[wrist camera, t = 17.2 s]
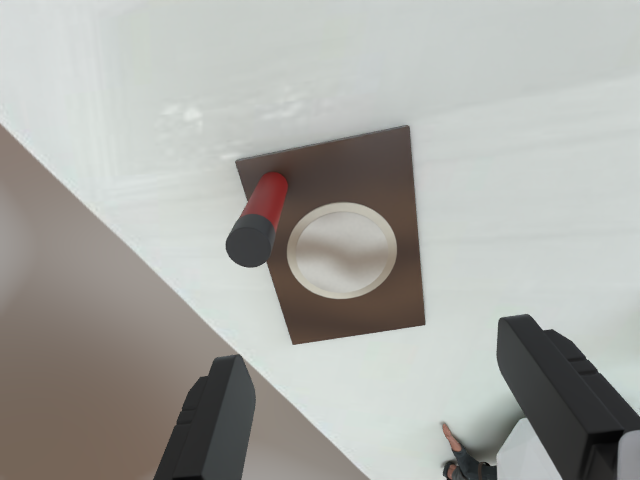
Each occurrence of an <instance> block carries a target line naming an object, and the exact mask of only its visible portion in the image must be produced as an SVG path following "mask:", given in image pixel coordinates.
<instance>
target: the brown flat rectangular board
mask: <svg viewBox="0 0 640 480" xmlns="http://www.w3.org/2000/svg"><path fill="white" fill-rule="evenodd" d="M235 163H236V166H237V169H238V172H239V175H240V179H241V182H242V185H243V188H244V191H245V194H246V198H247V201H249V199H250V197H251V195H252V193H253V192H254V190H255V188H256V186H257V184H258V182H259V181H260V179H261V177H262V176H263V175H264V174H266V173H268V172H277V173H279V174H281V175H282V176H283V177H284V178H285V179H286V181H287V184H288V190H287V193H286V197H285V201H284V204H283V208H282V212H281V215H280V219H279V222H278V226H277V230H276V233H275V240H274V244H273V248H272V251H271V255H270V257H269V259H268V260H267V264H268V268H269V271H270V274H271V277H272V280H273V283H274V287H275V290H276V293H277V296H278V299H279V302H280V306H281V309H282V312H283V315H284V318H285V322H286V325H287V328H288V331H289V334H290V337H291V341H292V344H293V345H296V344H302V343H309V342H316V341H322V340H329V339H336V338H342V337H349V336H356V335H362V334H369V333H376V332H382V331H389V330H396V329H402V328H409V327H415V326H422V325H425V314H424V301H423V289H422V277H421V264H420V252H419V240H418V227H417V215H416V203H415V190H414V178H413V166H412V153H411V141H410V129H409V126H408V125H405V126H400V127H396V128H391V129H386V130H381V131H376V132H371V133H366V134H361V135H357V136H352V137H347V138H342V139H337V140H332V141H327V142H322V143H318V144H313V145H308V146H303V147H298V148H293V149H288V150H283V151H278V152H274V153H269V154H264V155H259V156H254V157H249V158H244V159H239V160H237V161H236V162H235Z"/></svg>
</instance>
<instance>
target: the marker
mask: <svg viewBox="0 0 640 480" xmlns="http://www.w3.org/2000/svg"><path fill="white" fill-rule="evenodd" d="M287 190H288V184H287V181H286V179H285V178H284V177H283V176H282V175H281V174H279V173H277V172H268V173H266V174H264V175H263V176H262V177H261V179H260V181H259V182H258V184H257V186H256V188H255V190H254V192H253V193H252V195H251V197H250V199H249V201H248V203H247V205H246V206H245V208H244V210H243V212H242V214H241V216H240V217H239V219H238V220H237V222H236V223H235V225H234V227H233V228H232V230H231V232H230V234H229V236H228V238H227V240H226V250H227V253H228V255H229V257H230V258H231V259H232V260H233V261H234V262H235V263H237V264H238V265H241V266H243V267H257V266H260V265H262V264H264V263H265V262H266V261H267V260H268V259H269V257H270V255H271V251H272V248H273V244H274V240H275V233H276V230H277V226H278V222H279V219H280V215H281V212H282V208H283V204H284V201H285V197H286V193H287Z"/></svg>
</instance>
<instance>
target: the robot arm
mask: <svg viewBox="0 0 640 480" xmlns="http://www.w3.org/2000/svg"><path fill="white" fill-rule="evenodd" d="M497 362H498V366H499V369H500V371H501V374H502V376H503V378H504V379H505V381H506V383H507V384H508V386H509V388H510V390H511V391H512V393H513V395H514V397H515V398H516V400H517V402H518V403H519V405H520V407H521V409H522V410H523V412H524V414H525V416H526V417H527V419H528V421H529V422H530V424H531V426H532V428H533V429H534V431H535V433H536V435H537V436H538V438H539V440H540V441H541V443H542V445H543V447H544V448H545V450H546V452H547V454H548V455H549V457H550V459H551V460H552V462H553V464H554V466H555V467H556V469H557V471H558V473H559V474H560V476H561V478H562V479H563V480H640V417H639V415H638V414H637V413H636V412H635V411H634V410H633V409H632V408H631V407H630V405H629V404H628V403H627V402H626V401H625V400H624V399H623V398H622V397H621V395H620V394H619V393H618V392H617V391H616V390H615V389H614V388H613V387H612V385H611V384H610V383H609V382H608V381H607V380H606V379H605V378H604V377H603V375H602V374H601V373H598V371H597V369H596V368H595V367H594V365H593V364H592V363H591V362H590V361H589V360H587V359H586V357H585V355H584V354H583V353H582V352H581V351H580V350H579V349H578V348H577V347H576V345H575V344H574V343H573V342H572V341H570V340H569V339H567V338H566V337H564V336H562V335H561V334H559V333H558V332H556V331H554V330H553V329H551V330H544V331H543V330H542V329H541V327H540V326H539V325H538V324H537V323H536V321H535V320H534V319H533V318H532V317H531V316H530V315H528V314H523V315H516V316H509V317H502V318H500V319H499V322H498V337H497ZM255 398H256V396H255V389H254V385H253V383H252V380H251V378H250V375H249V373H248V370H247V368H246V365H245V363H244V361H243V358H242V356H241V355H239V354H237V355H231V356H224V357H217V358H215V359H214V361H213V364H212V366H211V369H210V372H209V375H208V376H205V377H200V378H199V379H198V381H197V382H196V383H195V385H194V386H193V387H192V388H191V389H190V391H189V392H188V395H187V397H186V400H185V402H184V404H183V407H182V412H180V414H179V417H178V419H177V425H176V426H175V427H174V429H173V432H172V434H171V437H170V439H169V442H168V444H167V447H166V449H165V452H164V454H163V457H162V459H161V462H160V464H159V467H158V469H157V472H156V474H155V476H154V479H153V480H241V478H242V473H243V468H244V462H245V457H246V452H247V447H248V441H249V436H250V431H251V426H252V421H253V415H254V410H255V403H256V399H255Z"/></svg>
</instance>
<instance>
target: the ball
mask: <svg viewBox="0 0 640 480" xmlns="http://www.w3.org/2000/svg"><path fill="white" fill-rule="evenodd" d="M443 432H444V434H445V436H446V438H447V439H448V440H449V442H450V445H451V447H452V451H453V453H454V455H455V457H456V458H457V461H458V465H459V466H457V465H455V464H453V463H451V462H449V463H447V464H446V465H445V468H444V470H443V476H445V477H446V478H447V480H563V479H562V478H561V476H560V474H559V473H558V471H557V469H556V467H555V466H554V464H553V462H552V460H551V459H550V457H549V455H548V454H547V452H546V450H545V448H544V447H543V445H542V443H541V441H540V440H539V438H538V436H537V435H536V433H535V431H534V429H533V428H532V426H531V424H530V422H529V421H528V419H527V417H526V418H523V419H520V420H519V421H518V423H517V424H516V426H515V427H514V429H513V430H512V432H511V433H510V435H509V437H508V438H507V440H506V441H505V443H504V444H503V446H502V447H501V449H500V450H499V452H498V453H497V466H490V465H489V464H488V463H487V462H480V463H479V462H478V461H476V460H475V459H474V458H473V457H471V456H470V455H469V454H468V453H467V452H466V449H465V448H464V447H463V446H462V445H461V444H460V443H458V442H457V441H456V440H455V439H454V438H453V437H452V436H451V433H450V430H449V429H448V427H447V426H446V424H443ZM483 463H485V464H483Z"/></svg>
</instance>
